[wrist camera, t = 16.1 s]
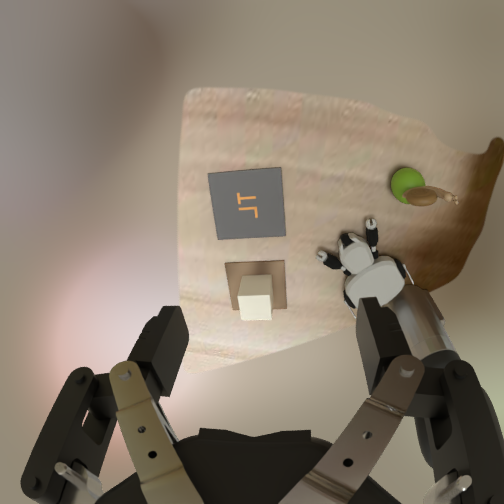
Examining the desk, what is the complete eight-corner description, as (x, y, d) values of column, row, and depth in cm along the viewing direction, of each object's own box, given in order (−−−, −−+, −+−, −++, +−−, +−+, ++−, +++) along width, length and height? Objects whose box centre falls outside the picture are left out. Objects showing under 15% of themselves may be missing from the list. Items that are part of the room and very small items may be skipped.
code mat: (280, 167, 43) (280, 167, 42) (285, 235, 48) (285, 236, 47) (208, 173, 44) (207, 174, 44) (218, 239, 49) (217, 239, 49)
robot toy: (310, 248, 49) (353, 309, 53) (310, 260, 45) (357, 323, 49) (371, 208, 45) (409, 275, 48) (377, 216, 41) (417, 287, 44)
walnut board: (284, 260, 50) (284, 261, 49) (286, 307, 54) (286, 308, 54) (225, 262, 51) (224, 263, 51) (233, 309, 55) (232, 310, 55)
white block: (271, 274, 51) (269, 295, 46) (273, 298, 53) (271, 319, 48) (242, 275, 51) (237, 295, 46) (245, 299, 54) (241, 320, 48)
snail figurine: (423, 192, 41) (459, 219, 31) (389, 201, 43) (418, 231, 32) (419, 160, 39) (457, 179, 29) (383, 168, 41) (414, 189, 30)
